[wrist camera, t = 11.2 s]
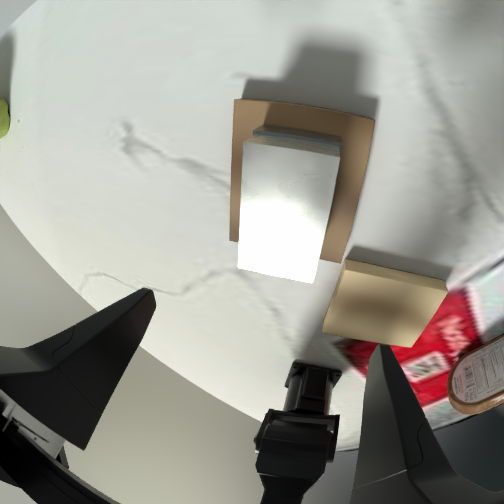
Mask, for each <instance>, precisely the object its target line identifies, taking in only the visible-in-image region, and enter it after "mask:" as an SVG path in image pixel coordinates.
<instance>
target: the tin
mask: <svg viewBox="0 0 504 504" xmlns="http://www.w3.org/2000/svg"><path fill="white" fill-rule="evenodd" d="M447 391H448V396H449V401H450V403H451V405H452V407H453V408H454V409H455V410H456V411H458V412H459V413H462V414H466V415H474V414H478V413H481V412H483V411H486V410H488V409H490V408H492V407H495V406H497V405H499V404H501V403H503V402H504V334H503V335H501V336H499V337H497V338H496V339H494V340H492V341H490V342H488V343H486V344H484V345H482V346H480V347H478V348H476V349H474V350H472V351H469V352H468V353H466V354H465V355H463V356H462V357H461V358H460V359H459V360H458V361H457V362H456V363H455V365H454V366H453V368H452V369H451V371H450V374H449V377H448V382H447Z"/></svg>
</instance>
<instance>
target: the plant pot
mask: <svg viewBox="0 0 504 504" xmlns="http://www.w3.org/2000/svg"><path fill="white" fill-rule="evenodd" d="M9 123H10V117H9V115H8V104H7V102H6V100H5V99H3V98H2V99H0V138H2V137H4V136H5V135H6V134H7V132H8V129H9Z"/></svg>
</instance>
